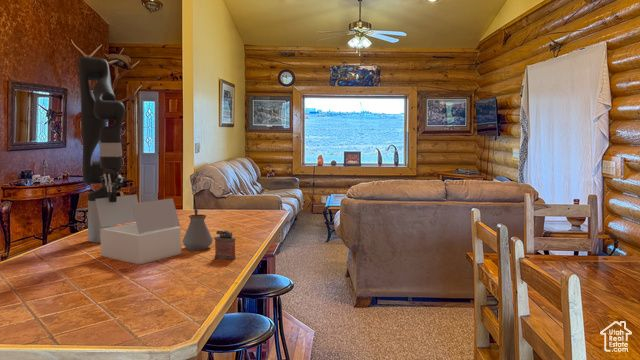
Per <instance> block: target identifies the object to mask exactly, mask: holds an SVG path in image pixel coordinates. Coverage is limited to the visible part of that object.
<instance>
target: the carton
mask: <svg viewBox="0 0 640 360" xmlns="http://www.w3.org/2000/svg"><path fill="white" fill-rule="evenodd" d="M181 229H182V228H181V227H180V226H176V227H171V228H166V229H160V230H155V231H150V232H145V233H139V231H138V227H137V223H136V222H131V223H125V224H119V225H113V227H108V228H102V229H100V238H101V242H100V256H101V257H105V258H108V259H114V260H116V261H117V260H118V261H121V262H127V263H130V264H135V265H144V264H149V263H151V262H156V261H159V260H163V259H167V258H171V257H174V256H175V257H176V256H178V255H182V233H181V232H182V230H181Z"/></svg>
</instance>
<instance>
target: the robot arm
mask: <svg viewBox="0 0 640 360" xmlns="http://www.w3.org/2000/svg"><path fill="white" fill-rule="evenodd" d="M77 65H78V66H77V67H78V68H77V70H78V81H79V89H80V114H81V115H80V122H81V124H80V125H81V134H82V135H81V137H82V179H83V183H84V184H86V185H87V184H88V185H89V184H90V185H91V184H92V185H93V184H94V185H95V184H101V185H102V186H101V187H100V188H98V189H97V190H94V191H91V192H89V193H88V194H87V210H88V211H87V215H88V216H87V235H88V236H87V237H88V238H87V239H88V241H89V242H90V243H95V244H96V243H97V244H98V243H100V244H101V238H100V229H102V228H108V227H114V225H112V226H106V227H101V226H100V221H99V216H98V211H97V206H96V201H95V199H100V198H109V202H116V201H117V197H118V195H117V193H118V191H121V189H122V187H123V185H124V183H125V181H126V178H125V176H124V177H122V175H121V174H122V173H121V170H120V169H122V168H123V167H124V166H123V148H122V147H123V146H122V137H121V135H122V133H121V131H122V126H123V122H124V121H123V120H124V117H125V114H126V107H125V104H124V103H123V102H122V101H120V100H117V99H116V95H115V93H114V90H113V87H112V86H113V85H112V77H111V71H110V65H109V62H108V61H107V59H105V58H102V57H94V56H93V57H92V56H79V58H78V63H77ZM89 81H96V82H95V84H94V86H93V89H91V85H90V82H89ZM107 120H108V121H114V122H113V124H111V125H108V126H107ZM98 144H99V160H98V161H97V160H96V161H95V160H94V161H92V158H93V153H94V151H95V149H96V148H97V145H98Z"/></svg>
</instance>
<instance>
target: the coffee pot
mask: <svg viewBox="0 0 640 360" xmlns="http://www.w3.org/2000/svg"><path fill="white" fill-rule="evenodd" d="M192 209H193V210H194V214H190V215H189V216H188V218H189V220H190V222H189V224H188V227H187V229H186V230H185V231H186V232H185V234H184V236H183V238H182V245H183V246H184V247H185V248H187V249H188V250H190V251H202V250H206V249H208V248H209V247H210V246H211V245H212V243H213V241H214V240H213V237H212V235H211V233H210V231H209V230H210V229H208V226H207V224H206V221H205V219H206V217H207V215H206V214H198V211H199V210H198V209H199V206H198V205H196V204H195V205H194V206H193V207H192Z"/></svg>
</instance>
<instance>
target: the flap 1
mask: <svg viewBox="0 0 640 360" xmlns="http://www.w3.org/2000/svg"><path fill="white" fill-rule="evenodd" d="M116 197H117V201H116V202H109V198H100V199H95V201H96V206H97V211H98V216H99V221H100V226H101V227H106V226H112V225H113V226H119V225H125V224H131V223H136V220H135V216H134V212H133V208H132V203H139V200H138V195H137V194H130V195H121V196H120V195H119V196H118V195H117V196H116Z"/></svg>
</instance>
